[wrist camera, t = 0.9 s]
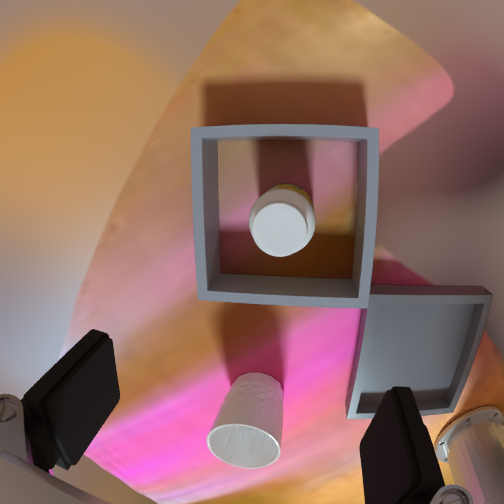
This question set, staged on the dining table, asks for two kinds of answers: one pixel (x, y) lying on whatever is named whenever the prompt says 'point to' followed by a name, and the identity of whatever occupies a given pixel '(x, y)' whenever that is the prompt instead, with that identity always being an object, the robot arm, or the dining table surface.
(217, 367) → the dining table surface
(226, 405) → the white cup
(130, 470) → the dining table surface
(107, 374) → the robot arm
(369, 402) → the tray
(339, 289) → the gray square frame
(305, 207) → the supplement bottle
